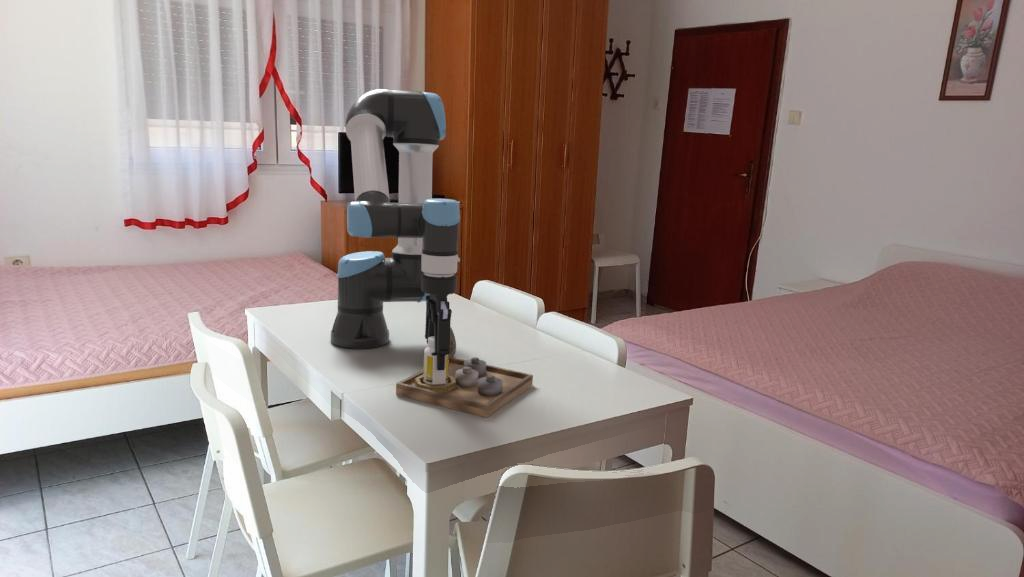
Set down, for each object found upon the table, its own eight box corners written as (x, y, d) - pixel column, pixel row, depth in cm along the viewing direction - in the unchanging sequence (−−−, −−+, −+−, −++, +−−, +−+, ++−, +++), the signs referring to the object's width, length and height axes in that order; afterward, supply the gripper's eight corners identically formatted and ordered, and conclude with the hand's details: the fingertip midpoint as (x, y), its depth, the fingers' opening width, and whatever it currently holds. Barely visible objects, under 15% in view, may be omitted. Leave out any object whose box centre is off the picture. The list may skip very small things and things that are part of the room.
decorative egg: (460, 362, 173) (462, 322, 171) (444, 367, 168) (446, 327, 166) (441, 356, 176) (443, 318, 174) (426, 362, 172) (427, 322, 169)
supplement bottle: (452, 384, 152) (454, 340, 149) (430, 387, 149) (431, 343, 146) (440, 376, 156) (442, 333, 154) (418, 379, 153) (420, 336, 151)
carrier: (396, 394, 150) (396, 372, 149) (449, 366, 169) (450, 346, 168) (486, 417, 141) (487, 393, 140) (532, 385, 160) (533, 364, 159)
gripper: (468, 282, 140) (463, 392, 145) (446, 264, 157) (442, 363, 162) (431, 283, 137) (427, 394, 142) (413, 265, 154) (410, 365, 159)
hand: (435, 378), depth 152 cm, fingers closed on supplement bottle, 5 cm apart
